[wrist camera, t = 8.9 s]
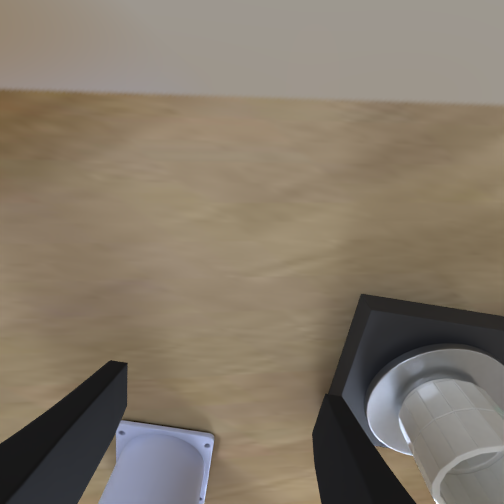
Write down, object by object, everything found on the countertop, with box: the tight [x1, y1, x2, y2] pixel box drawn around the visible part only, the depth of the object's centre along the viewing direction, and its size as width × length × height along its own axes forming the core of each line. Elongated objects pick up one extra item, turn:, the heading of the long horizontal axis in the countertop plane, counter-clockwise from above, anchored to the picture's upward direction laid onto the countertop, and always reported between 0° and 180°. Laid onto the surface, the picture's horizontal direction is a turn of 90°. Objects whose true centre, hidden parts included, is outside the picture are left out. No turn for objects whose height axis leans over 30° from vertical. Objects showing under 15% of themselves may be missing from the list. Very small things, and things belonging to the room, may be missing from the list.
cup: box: [399, 378, 504, 504], centre depth 17 cm, size 5×5×4 cm
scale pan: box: [364, 343, 504, 455], centre depth 19 cm, size 9×9×1 cm
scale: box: [328, 294, 504, 448], centre depth 20 cm, size 11×13×2 cm
